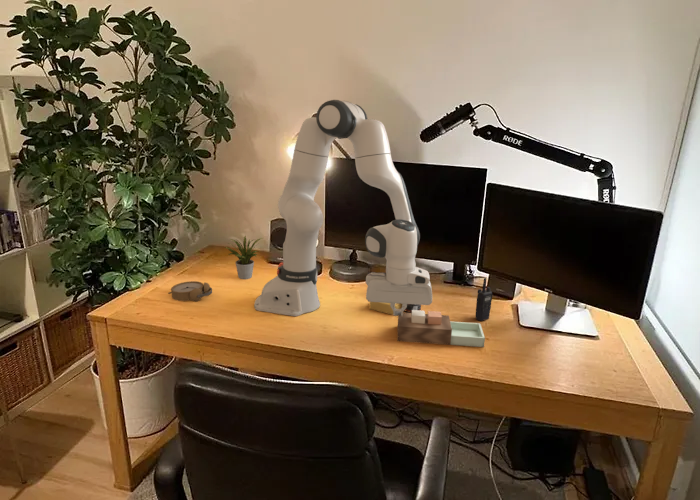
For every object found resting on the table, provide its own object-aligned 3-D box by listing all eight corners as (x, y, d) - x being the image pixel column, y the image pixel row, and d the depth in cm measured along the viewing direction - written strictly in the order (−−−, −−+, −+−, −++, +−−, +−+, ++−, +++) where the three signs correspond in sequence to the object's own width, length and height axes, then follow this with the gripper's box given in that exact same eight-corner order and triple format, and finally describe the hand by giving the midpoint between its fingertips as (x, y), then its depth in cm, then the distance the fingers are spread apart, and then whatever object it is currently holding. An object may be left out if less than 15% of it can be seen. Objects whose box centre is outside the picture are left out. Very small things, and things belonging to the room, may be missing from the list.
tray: (450, 344, 163) (451, 335, 162) (447, 329, 172) (448, 321, 171) (483, 347, 162) (484, 338, 161) (479, 331, 172) (480, 323, 171)
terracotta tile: (427, 323, 165) (428, 316, 164) (427, 318, 168) (427, 310, 168) (441, 324, 164) (441, 317, 164) (440, 319, 168) (440, 311, 167)
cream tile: (411, 322, 165) (412, 315, 164) (411, 317, 169) (411, 309, 168) (424, 323, 165) (425, 316, 164) (424, 317, 168) (424, 310, 168)
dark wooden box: (397, 341, 164) (398, 326, 162) (397, 326, 173) (398, 312, 172) (450, 344, 163) (451, 329, 161) (447, 329, 172) (448, 315, 171)
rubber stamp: (402, 309, 186) (404, 277, 182) (395, 316, 181) (397, 283, 177) (376, 303, 190) (378, 271, 186) (369, 309, 185) (370, 277, 182)
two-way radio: (479, 322, 178) (484, 280, 173) (470, 317, 182) (474, 275, 177) (491, 318, 181) (496, 277, 176) (481, 313, 185) (486, 273, 180)
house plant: (253, 267, 221) (251, 228, 215) (272, 276, 211) (271, 237, 206) (222, 274, 211) (220, 235, 206) (240, 285, 202) (239, 243, 197)
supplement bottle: (420, 314, 183) (422, 283, 179) (402, 312, 184) (404, 281, 180) (421, 307, 188) (423, 277, 184) (404, 305, 189) (406, 275, 186)
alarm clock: (182, 280, 198) (217, 279, 193) (185, 292, 199) (220, 292, 194) (163, 291, 188) (199, 290, 182) (166, 304, 189) (202, 304, 184)
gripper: (365, 275, 160) (363, 317, 165) (434, 279, 159) (431, 321, 163) (366, 268, 166) (365, 309, 171) (433, 271, 165) (429, 312, 169)
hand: (397, 315), depth 167 cm, fingers closed
